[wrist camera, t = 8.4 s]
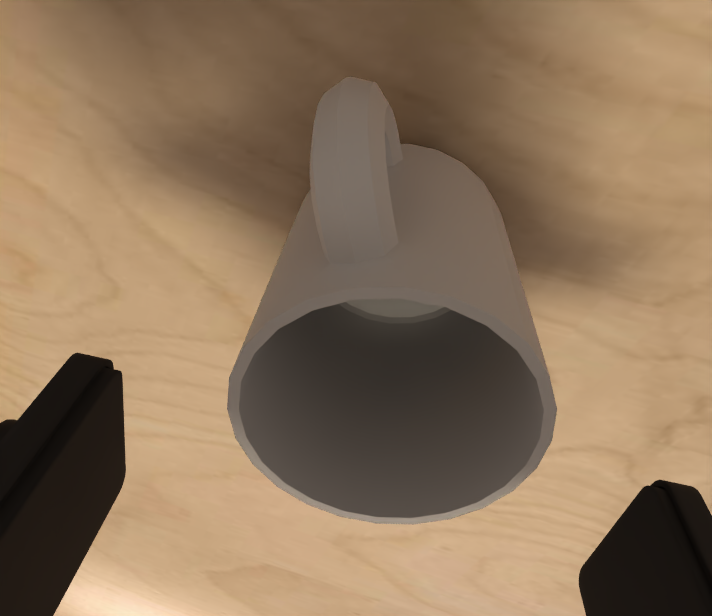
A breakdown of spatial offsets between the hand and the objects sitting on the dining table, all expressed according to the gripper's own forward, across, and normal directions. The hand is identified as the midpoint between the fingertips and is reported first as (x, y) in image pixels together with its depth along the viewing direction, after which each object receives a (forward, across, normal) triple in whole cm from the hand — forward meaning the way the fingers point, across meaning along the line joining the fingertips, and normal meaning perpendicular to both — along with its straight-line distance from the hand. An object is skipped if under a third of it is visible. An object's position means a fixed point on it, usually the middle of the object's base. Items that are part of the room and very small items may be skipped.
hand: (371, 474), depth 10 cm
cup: (+11, 0, 0) cm, 11 cm away
